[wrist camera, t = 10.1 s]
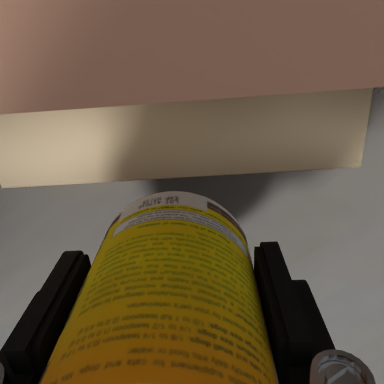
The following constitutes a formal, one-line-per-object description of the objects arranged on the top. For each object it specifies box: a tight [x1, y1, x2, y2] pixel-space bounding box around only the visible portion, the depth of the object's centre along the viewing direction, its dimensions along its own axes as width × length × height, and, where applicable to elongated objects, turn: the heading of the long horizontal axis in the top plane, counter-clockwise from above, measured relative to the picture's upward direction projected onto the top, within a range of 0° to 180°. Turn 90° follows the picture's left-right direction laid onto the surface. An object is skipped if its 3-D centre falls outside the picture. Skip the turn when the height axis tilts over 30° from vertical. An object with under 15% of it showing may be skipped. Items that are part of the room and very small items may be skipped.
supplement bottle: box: [38, 191, 279, 384], centre depth 9 cm, size 6×6×10 cm
